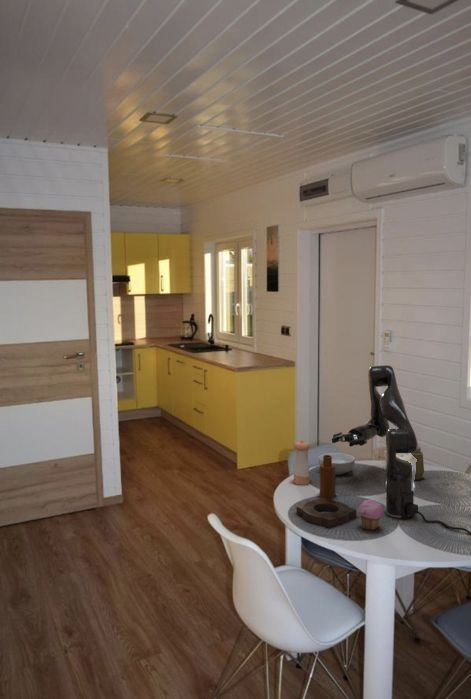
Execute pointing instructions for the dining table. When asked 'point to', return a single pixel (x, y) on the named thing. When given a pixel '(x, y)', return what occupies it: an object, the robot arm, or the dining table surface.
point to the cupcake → (370, 514)
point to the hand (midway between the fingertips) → (341, 442)
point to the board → (327, 519)
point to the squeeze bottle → (419, 463)
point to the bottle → (327, 478)
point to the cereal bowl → (340, 462)
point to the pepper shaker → (301, 463)
